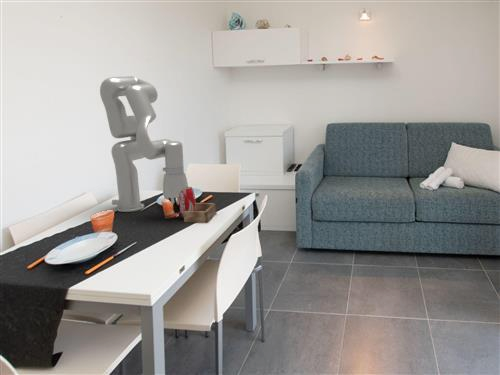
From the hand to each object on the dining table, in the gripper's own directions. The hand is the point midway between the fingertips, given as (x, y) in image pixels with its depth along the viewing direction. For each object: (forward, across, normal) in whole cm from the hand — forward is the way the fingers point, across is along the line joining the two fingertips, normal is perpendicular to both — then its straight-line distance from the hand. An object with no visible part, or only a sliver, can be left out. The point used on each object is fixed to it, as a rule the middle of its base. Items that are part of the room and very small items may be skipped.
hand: (177, 212), depth 218 cm
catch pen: (+2, +10, 0) cm, 11 cm away
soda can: (+1, +6, -1) cm, 6 cm away
